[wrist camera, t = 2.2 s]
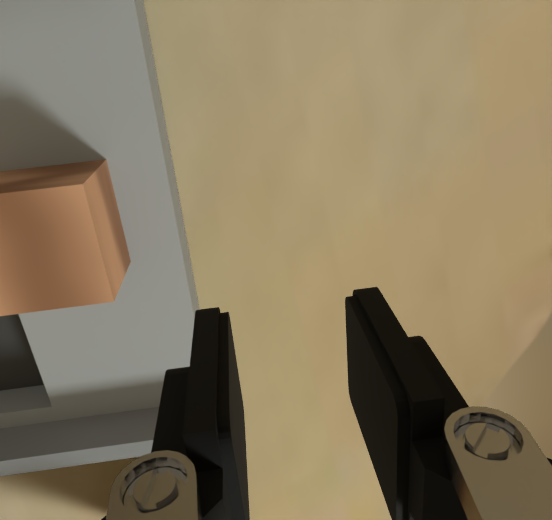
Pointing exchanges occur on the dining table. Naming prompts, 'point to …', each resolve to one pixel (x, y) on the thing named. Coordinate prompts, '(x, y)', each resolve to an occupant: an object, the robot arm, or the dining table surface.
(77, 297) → the block
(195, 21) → the dining table surface
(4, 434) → the box
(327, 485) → the dining table surface
